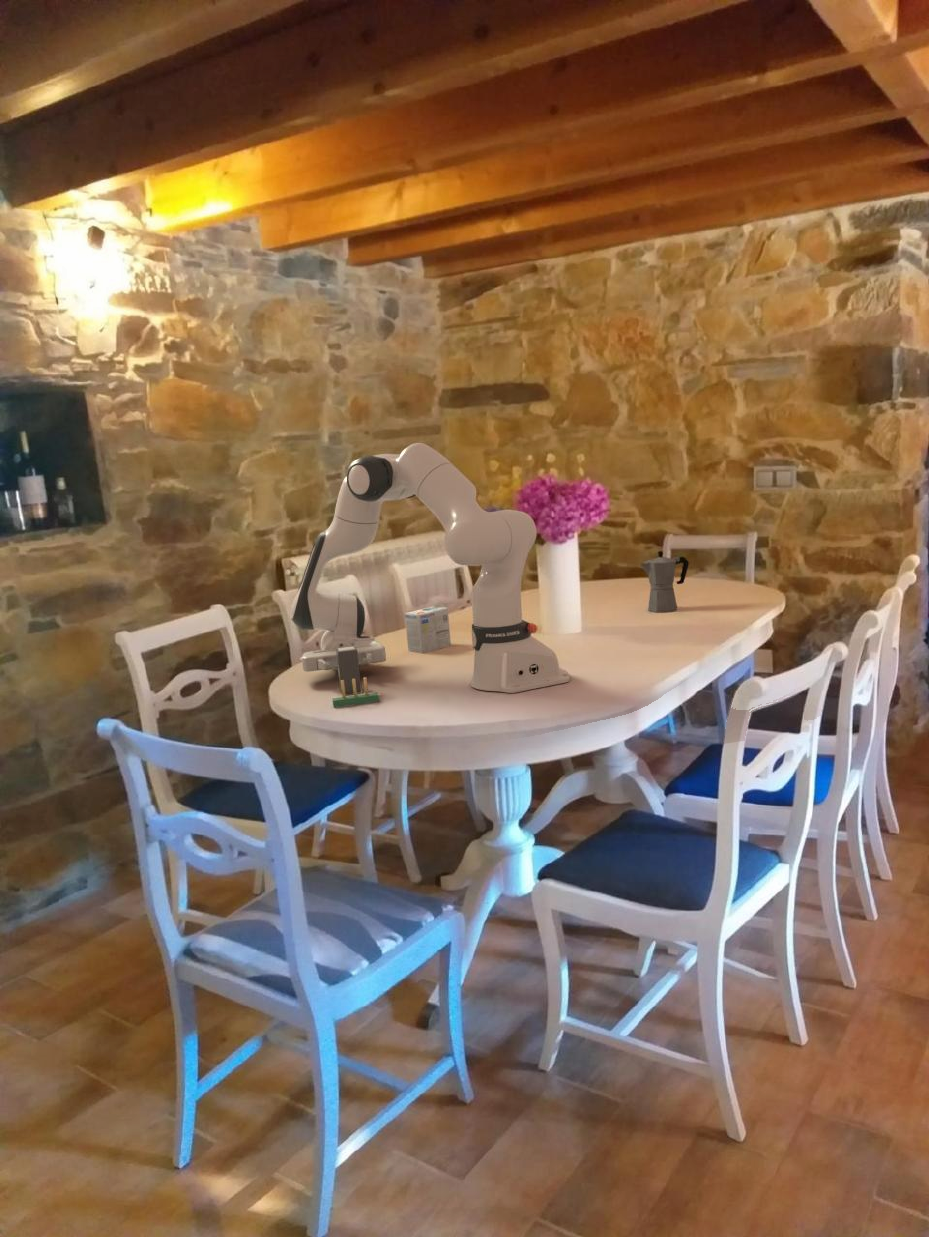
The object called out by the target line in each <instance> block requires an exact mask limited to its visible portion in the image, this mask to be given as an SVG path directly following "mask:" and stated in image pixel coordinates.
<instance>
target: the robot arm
mask: <svg viewBox="0 0 929 1237" xmlns="http://www.w3.org/2000/svg"><path fill="white" fill-rule="evenodd" d="M414 497H416V498H417V499H418V500H419V501H420V502H421V503H423V504H424V505H425V507H426V508H427V509H428V510H429V511H430V512H431V513H432V514H433V515H434V516H435V517H436V518H437V520H438V521H439V523H440V524H441V525H442V527H443V529H444V531H445V535H444V548H445V551H446V554H447V555H448V557H449V559H450V560H451V561H452V562H454V563H455V564H457V565H461V566H468V567H478V566H479V567H480V566H481V567H480V568H481V569H480V572H479V576H478V578H477V580H476V581H475V583H474V584H473V586H472V588H471V592H470V594H471V595H470V597H471V606H472V622H473V623H472V625H471V639H472V641H471V642H472V648H473V649H474V656H473V658H474V659H473V671H472V677H471V678H472V679H471V682H470V686H471V687H472V688H474V689H477V690H480V691H488V692H503V693H507V694H514V693H520V692H525V691H529V690H535V689H539V688H540V689H541V688H545V687H549V686H555V685H559V684H564V683H568V682H570V680H571V676H570V673H569V672H568V671H567V670H565V669H563V668H562V667H560V663H559V659H558V657H557V655H556V653H555V651H554V650H553V649H552V648H550V647H549V646H547V645H546V644H544V643H543V642H542V641H540V640H539V639H536V637H534V636H532V634H535V633H537V631H538V630H539V628H538V625H536V624H535V623H533V622H528V621H526V620H524V619H523V612H522V611H523V610H522V581H523V580H522V579H523V574H524V570H525V565H526V561H527V557H528V555H529V553H530V551H531V549H532V547H534V544H535V542H536V539H537V532H538V530H537V527H536V524H535V521H534V519H533V518H532V517H531V516H530V515H529V514H528V513H526V512H525V511H520V510H514V509H502V510H496V511H491V512H489V511H486V510H484V509H483V508H481V506H480V504H479V503H478V502H477V500H476V499H477V488H476V486H475V484H473V483H472V482H471V481H470V480H469V478H467V477H466V475H465V474H463V473H462V472H461V471H460V470H459V469H458V468H457V467H456V466H455V465H454V464H453V463H452V462H451V461H449V460H448V459H447V458H446V457H445V456H444V455H442V454H441V453H440V452H439V451H437V450H435V449H434V448H433V447H431V446H429V445H428V444H426V443H424V442H423V443H422V442H415V443H412V444H409V445H408V446H407V447H406V448H404V449H403V450H402V451H401V452H400V454H399V453H396V454H395V453H381V454H375V455H366V456H361V457H359V458H357V459H355V460H353V461H352V462H351V463H350V465H349V466H348V468H347V471H346V476H345V477H344V478H343V481H342V484H341V486H340V489H339V492H338V495H337V500H336V505H335V508H334V515H333V519H332V521H331V523H330V525H329V526H328V528H327V529H326V530H324V531H321V532H319V534H318V535H317V537H316V539H315V541H314V544H313V546H312V549H311V552H310V555H309V558H308V560H307V563H306V566H305V569H304V573H303V575H302V579H301V581H300V584H299V588H298V590H297V591H296V592H297V593H296V594H295V597H294V599H293V600H292V603H291V607H290V618H291V621H292V622H293V624H294V625H296V626H297V628H299V629H300V630H302V631H308V630H309V631H314V630H317V631H319V630H320V631H325V632H323V635H322V636H321V639H320V649H319V650H312V651H307V652H304V653H303V654H302V656H301V657H299V661H300V663H301V664H302V671H304V672H307V673H308V672H316V671H329V670H331V669H332V670H334V671H336V672H337V671H338V665H337V655H336V649H338V648H344V647H356V649H357V653H358V663H359V666H362V665H363V666H368V665H371V664H378V663H385V662H386V660H387V657H386V656H387V654H386V648H385V646H384V645H383V643H381V641H378V640H375V639H376V638H375V637H374V636H372V635H371V636H369V635H368V636H367V635H364V636H363V633H364V632H363V631H364V630H365V628H364V627H365V621H366V619H365V617H366V614H365V613H366V612H365V607H364V604H363V603H362V601H361V599H360V598H359V597H357V596H356V595H351V594H341V593H332V592H331V593H328V592H322V591H321V592H320V591H317V588H318V586H319V582H320V580H321V577H322V573H323V570H324V568H325V566H326V565H327V564H328V562H330V561H332V560H334V559H336V558H339V557H343V556H347V555H352V554H355V553H359V552H361V551H363V550H365V549H367V548H368V547H369V546H370V545H371V544H372V543H373V542H374V540H375V538H376V534H377V531H378V527H379V524H380V522H379V521H380V514H381V508H382V504H383V503H384V502H387V501H389V502H392V501H398V500H404V499H412V498H414Z"/></svg>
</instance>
